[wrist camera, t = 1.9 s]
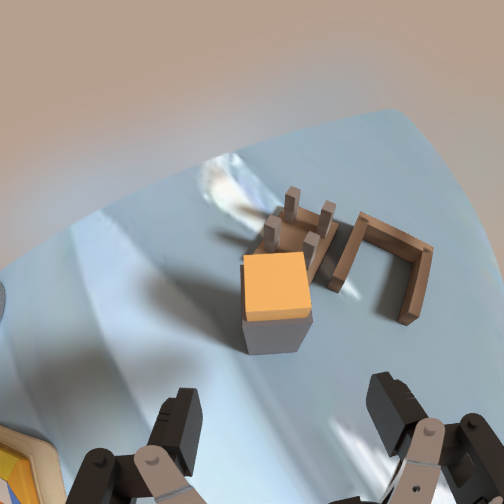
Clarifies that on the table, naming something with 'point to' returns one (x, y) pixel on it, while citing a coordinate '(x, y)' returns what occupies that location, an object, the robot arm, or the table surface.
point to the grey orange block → (275, 302)
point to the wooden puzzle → (29, 470)
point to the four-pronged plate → (300, 232)
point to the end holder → (397, 245)
